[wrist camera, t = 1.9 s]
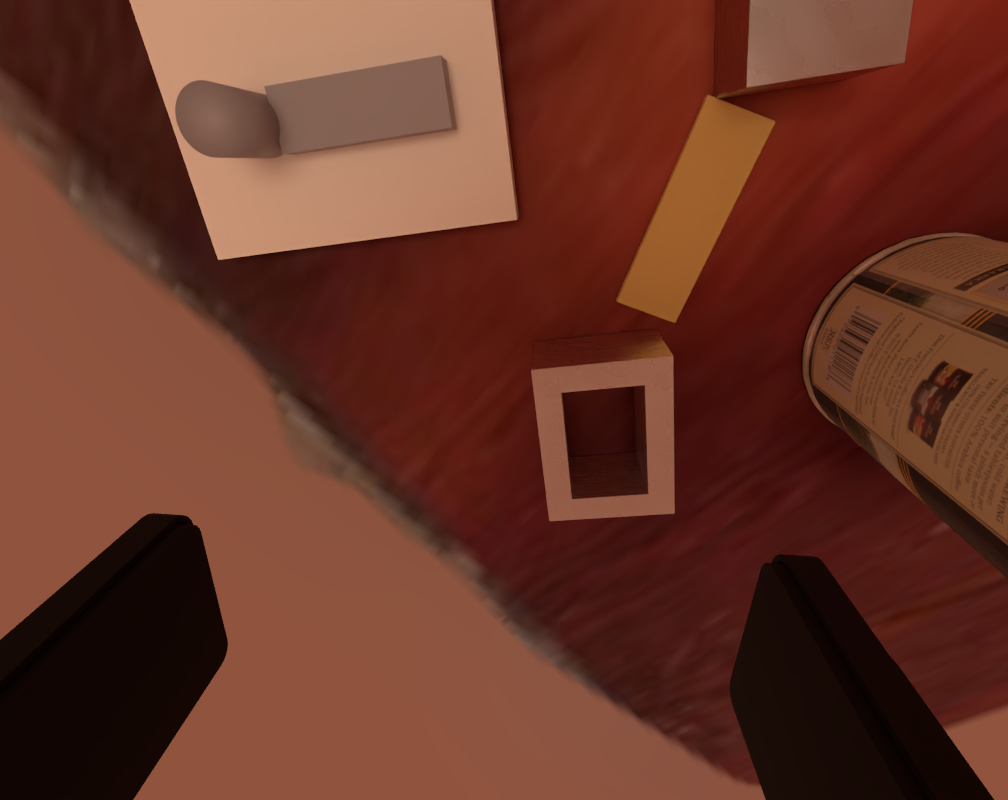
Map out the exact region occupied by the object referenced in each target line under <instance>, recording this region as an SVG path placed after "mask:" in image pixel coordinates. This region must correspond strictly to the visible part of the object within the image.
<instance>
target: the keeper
mask: <svg viewBox="0 0 1008 800" xmlns="http://www.w3.org/2000/svg"><path fill="white" fill-rule="evenodd" d="M130 3H131V6H132V9H133V12H134V15H135V18H136V21H137V24H138V27H139V30H140V32H141V35H142V38H143V41H144V44H145V47H146V50H147V53H148V56H149V59H150V62H151V65H152V68H153V71H154V73H155V76H156V79H157V82H158V85H159V88H160V91H161V94H162V97H163V100H164V103H165V106H166V109H167V112H168V114H169V117H170V120H171V123H172V126H173V129H174V132H175V135H176V138H177V141H178V144H179V147H180V150H181V153H182V155H183V158H184V161H185V164H186V167H187V170H188V173H189V176H190V179H191V182H192V185H193V188H194V191H195V194H196V196H197V199H198V202H199V205H200V208H201V211H202V214H203V217H204V220H205V223H206V226H207V229H208V232H209V235H210V237H211V240H212V243H213V246H214V249H215V252H216V255H217V258H218V260H221V259H229V258H236V257H244V256H251V255H259V254H266V253H274V252H281V251H289V250H296V249H303V248H311V247H318V246H326V245H333V244H341V243H348V242H356V241H363V240H371V239H378V238H386V237H393V236H400V235H408V234H415V233H423V232H430V231H438V230H445V229H453V228H460V227H468V226H475V225H482V224H490V223H497V222H505V221H512V220H517V219H518V217H519V213H518V205H517V196H516V188H515V179H514V170H513V162H512V153H511V145H510V136H509V128H508V119H507V111H506V102H505V93H504V85H503V76H502V68H501V59H500V51H499V42H498V34H497V25H496V17H495V8H494V0H130Z"/></svg>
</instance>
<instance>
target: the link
mask: <svg viewBox="0 0 1008 800" xmlns="http://www.w3.org/2000/svg"><path fill="white" fill-rule="evenodd" d="M531 374H532V383H533V391H534V399H535V407H536V415H537V424H538V432H539V440H540V448H541V457H542V465H543V473H544V481H545V489H546V498H547V506H548V514H549V521H560V520H577V519H593V518H609V517H625V516H641V515H657V514H674V513H675V505H674V375H673V355H672V353H671V352H670V350H669V348H668V347H667V345H666V344H665V342H664V341H663V339H662V337H661V336H660V334H659V333H658V331H657V330H656V329H649V330H640V331H630V332H621V333H611V334H601V335H592V336H582V337H573V338H563V339H554V340H544V341H535V342H533V353H532V364H531ZM629 386H633V395H634V420H635V445H636V452H630V453H617V454H604V455H591V456H578V457H569V452H568V442H567V431H566V421H565V411H564V401H563V393H564V392H575V391H586V390H597V389H608V388H619V387H629Z"/></svg>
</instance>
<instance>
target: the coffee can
mask: <svg viewBox="0 0 1008 800" xmlns="http://www.w3.org/2000/svg"><path fill="white" fill-rule="evenodd" d="M802 366H803V378H804V382H805V385H806V388H807V391H808V394H809V396H810V398H811V399H812V401H813V403H814V404H815V406H816V407H817V409H818V410H819V411H820V412H821V413H822V414H823V415H824V416H825V417H826V418H827V419H828V420H829V421H830V422H832V423H833V424H835V425H836V426H838V427H839V428H840V429H841V430H843V431H844V432H845V433H846V434H847V435H848V436H850V437H851V438H852V440H854V441H855V442H856V443H857V444H858V445H859V446H860V447H862V448H863V449H864V450H865V451H866V452H867V453H868V454H870V455H871V456H872V457H873V458H874V459H875V460H876V461H877V462H879V463H880V464H881V465H882V466H883V467H884V468H885V469H886V470H888V471H889V472H890V473H891V474H892V475H893V476H894V477H895V478H897V479H898V480H899V481H900V482H901V483H902V484H903V485H904V486H905V487H907V488H908V489H909V490H910V491H911V492H912V493H913V494H914V495H915V496H917V497H918V498H919V499H920V500H921V501H922V502H923V503H924V504H925V505H927V506H928V507H929V508H930V509H931V510H932V511H933V512H934V513H935V514H937V515H938V516H939V518H940V519H942V520H943V521H944V522H945V523H946V524H947V525H949V526H950V527H951V528H952V529H953V530H954V531H955V532H956V533H957V534H959V535H960V536H961V537H962V538H963V539H964V540H965V541H966V542H967V543H969V544H970V545H971V546H972V547H973V548H974V549H975V550H976V551H978V552H979V553H980V554H981V555H982V556H983V557H984V558H985V559H986V560H987V561H989V562H990V563H991V564H992V565H993V566H994V567H995V568H997V569H998V570H999V571H1000V572H1001V573H1002V574H1003V575H1005V576H1006V577H1007V578H1008V242H1001V241H996V240H992V239H989V238H986V237H982V236H978V235H974V234H966V233H957V232H953V233H938V234H930V235H925V236H921V237H917V238H912V239H907V240H904V241H902V242H900V243H898V244H896V245H894V246H891V247H888V248H886V249H884V250H882V251H880V252H878V253H877V254H875V255H873V256H871V257H870V258H868V259H866V260H865V261H864V262H862V263H861V264H859V265H858V266H857V267H855V268H854V269H853V270H852V271H850V272H849V273H848V274H847V275H846V276H845V277H844V278H843V279H842V280H841V281H840V282H839V283H838V284H837V285H836V286H835V287H834V288H833V289H832V290H831V292H830V293H829V294H828V295H827V296H826V297H825V299H824V301H823V303H822V304H821V306H820V307H819V309H818V311H817V313H816V315H815V317H814V318H813V320H812V323H811V325H810V327H809V330H808V333H807V336H806V339H805V344H804V349H803V359H802Z"/></svg>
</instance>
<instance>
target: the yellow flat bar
mask: <svg viewBox="0 0 1008 800" xmlns="http://www.w3.org/2000/svg"><path fill="white" fill-rule="evenodd" d="M775 122H776V121H773V120H771V119H768V118H766V117H763V116H761V115H758V114H756V113H753V112H751V111H748V110H746V109H743V108H741V107H738V106H735V105H733V104H730V103H728V102H725V101H723V100H720V99H716V98H715V97H713V96H710V95H706V96H705V98H704V100H703V103H702V105H701V107H700V109H699V112H698V114H697V116H696V118H695V121H694V123H693V125H692V128H691V130H690V132H689V134H688V137H687V139H686V141H685V143H684V146H683V148H682V150H681V153H680V155H679V157H678V159H677V162H676V164H675V166H674V169H673V171H672V173H671V175H670V178H669V180H668V182H667V184H666V187H665V189H664V191H663V194H662V196H661V198H660V200H659V203H658V205H657V207H656V209H655V212H654V214H653V216H652V219H651V221H650V223H649V225H648V228H647V230H646V232H645V234H644V237H643V239H642V241H641V244H640V246H639V248H638V250H637V253H636V255H635V257H634V259H633V262H632V264H631V266H630V269H629V271H628V273H627V275H626V278H625V280H624V282H623V284H622V287H621V289H620V291H619V294H618V296H617V298H616V302H618V303H621V304H624V305H626V306H629V307H632V308H635V309H637V310H640V311H643V312H646V313H648V314H651V315H654V316H657V317H659V318H662V319H665V320H668V321H670V322H673V323H676V321H677V319H678V317H679V315H680V313H681V311H682V309H683V306H684V304H685V302H686V300H687V298H688V296H689V294H690V292H691V290H692V288H693V286H694V284H695V282H696V280H697V278H698V276H699V274H700V272H701V270H702V268H703V266H704V264H705V262H706V260H707V258H708V256H709V254H710V252H711V250H712V248H713V246H714V244H715V242H716V240H717V238H718V236H719V234H720V232H721V230H722V228H723V226H724V224H725V222H726V220H727V218H728V216H729V214H730V212H731V210H732V208H733V206H734V204H735V202H736V200H737V198H738V196H739V194H740V192H741V190H742V188H743V186H744V184H745V182H746V180H747V178H748V176H749V174H750V172H751V170H752V168H753V166H754V164H755V162H756V160H757V158H758V156H759V154H760V152H761V150H762V148H763V146H764V144H765V142H766V140H767V138H768V136H769V134H770V132H771V130H772V128H773V126H774V124H775Z"/></svg>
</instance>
